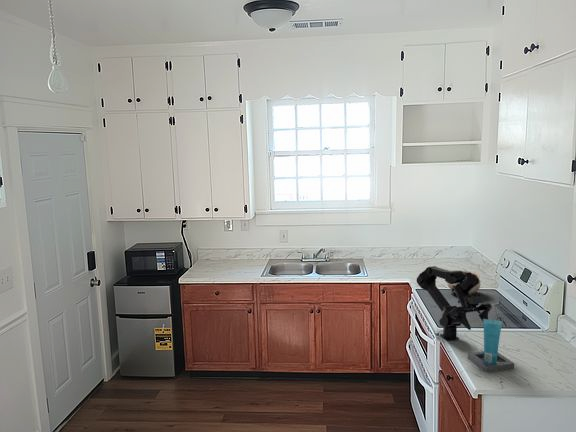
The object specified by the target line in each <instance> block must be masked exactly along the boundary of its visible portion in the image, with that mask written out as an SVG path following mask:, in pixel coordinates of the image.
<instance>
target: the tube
mask: <svg viewBox="0 0 576 432" xmlns="http://www.w3.org/2000/svg"><path fill="white" fill-rule="evenodd" d="M482 323H483V351H484V359H483V361H484V362H486V363H487V364H492V363H498V361H497V354H498V353H499V345H500V336H501V330H502V327H503V321H502V320H496V319H495V320H494V319H490V318H488V319H483V321H482Z"/></svg>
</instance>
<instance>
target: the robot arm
mask: <svg viewBox="0 0 576 432" xmlns="http://www.w3.org/2000/svg"><path fill="white" fill-rule="evenodd" d="M462 271H463V270H448V269H444V268H441V267H437V266H435V265H433V266H427V267H426V268H425V269H424V270H423V271H422V272H421V273H419V275H418V276H417V277H416V283H417V285H418V286H419V287H420V289H422V290H424V291H426V292H427V293H428V294H429V296H431V297H430V298H432V300H433V301H434V302H435V304H436V306H437V307H438V308H439V309H440V311H441V317H440V319H439V320H438V322H439V325H440V326H441V327H442V328H443V330H442V334H441V333H440V335H439V336H440V337H442V339H444V340H446V341H447V342H448V341H455V340H460V337H458V336H457V335H458V333H457V332H458V331H457V329H458V328H457V327H461V325H462V326H464V327H465V328H466V329H467V330H469V331H471V330H472V328H471V325H470V323H469V321H468V318H467V313H475V312H477V314H478V317H479V318H480V320H481V321H482V322H483V319H489V312H491V310H492V309H493V306H492V305H491V303H489V302H485V303H484V301H486V300H487V299H486V296H485V295H484V293H479V294H477V296H475V295H474V294H470V292H469V291H471V290H472V289H473V288H474V287H475V286H477V285H478V283H479V280H480V279H479V280H478V278H477V277H476V276H475V275H472V274H471V272H472V271H470V272H467V273H466V274H464V273H463V272H462ZM437 277H438V278H440V279H443V280H444V281H445V282H446V283H447V282H448V283H449V284H456V283H459V284H457V285H456V286H453V288H452V290H451V292H452V293H455V294H456V297H457V298H458V300H457V303H458V304H460V306H457V305H451V304H450V303H449V302H448V300H447V299H446V297H445V296H444V295H443V294H442V292H441V291H440V289H439V288H438V287H437V283H436V282H437Z"/></svg>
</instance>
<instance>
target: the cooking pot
mask: <svg viewBox="0 0 576 432" xmlns="http://www.w3.org/2000/svg"><path fill="white" fill-rule="evenodd" d="M461 271H462V272H463V273H464V274H466V273H467V272H471V274H472V275H475V276H476V277H477V278H478V280H479V283H478V285H477V286H475V287H474V288H473V289H472V290H471V291H469V292H470V294H471V295H474V294H475V293H477V292H478V291H479V290H480V288H481V284H482V283H481V279H480V274H478V273H476V272H474V271H470V270H461ZM446 283H447V286H448V289H450V290H451V291H452V288H453V286H456V285H457V284H459V283H456V284H449V283H448V282H446Z"/></svg>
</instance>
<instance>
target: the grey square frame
mask: <svg viewBox="0 0 576 432" xmlns="http://www.w3.org/2000/svg"><path fill="white" fill-rule="evenodd" d="M467 359H468V360H469V361H470V362H471V363H472V364H474V365H475V364H476V365H475V366H477V367H478V368H480V369H481V370H482V371H483V370H484V372H485V373H486V372H487V373H493V372H501V371H507V370H508V371H509V370H514V369H515V362H513V361H512V360H510V359H509V358H507V357H505V356H504V355H503V354H502V353H500V352H498V354H497V363H492V364H487V363H486V362H484V350H482V351H474V352H468V353H467Z"/></svg>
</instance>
